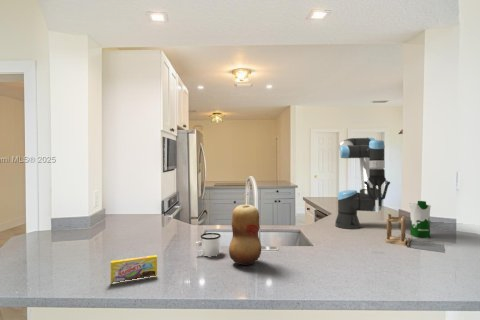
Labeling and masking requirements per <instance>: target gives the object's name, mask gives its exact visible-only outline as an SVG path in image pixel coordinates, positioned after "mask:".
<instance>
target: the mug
mask: <svg viewBox="0 0 480 320" xmlns="http://www.w3.org/2000/svg"><path fill="white" fill-rule="evenodd" d="M200 238H201V240H199V241H196V242H195V244H194V249H195V251H196V253H201V256H202V257H204V256H216V255H218V254H219V253H221V252H220V250H221V249H220V248H221V247H220V241H221V240H220V239H221V233H218V232H206V233H202V234H201V235H200ZM197 243H198V244H199V243H201V249H200V250H197ZM219 255H220V254H219ZM219 255H218V256H219ZM216 257H217V256H216Z"/></svg>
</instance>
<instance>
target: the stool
mask: <svg viewBox="0 0 480 320" xmlns="http://www.w3.org/2000/svg"><path fill="white" fill-rule="evenodd" d="M392 223H400V229H401V231H400V234H401V235H400V236H395V235H392ZM407 242H408V239H407V237H406V215H404V214H403V215H402V216H401V217H400V216H392V214H390V213H389V214H387V216H386V238H385V244H391V245H398V246H407Z"/></svg>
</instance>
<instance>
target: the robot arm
mask: <svg viewBox="0 0 480 320" xmlns="http://www.w3.org/2000/svg"><path fill="white" fill-rule="evenodd" d="M338 149H339V156H340V158H341V159H359V165H360V166H359V167H360V169H359V170H360V181H361V188H360V189H359V192H358V191H357V190H356V189H348V190H347V189H346V190H342V191H339V192H338V194H337V217H336V219H335V223H334V224H335V227H337V228H338V229H339V228H341V229H346V230H354V229H360V228H361V222H360V220H359V217H358V212H359V211H360V212H372V213H373V212H375V213H379V212H380V211H381V210H382V207H383V202H384V200H385V199H386V196H387V192H388V188H389V186H390V184H391V182H390V181H389V180H387V179H386V176H385V175H386V173H385V172H386V170H385V168H386V167H385V141H384V140H381V139H377V140H376V139H375V138H373V137H355V138H354V137H351V138H347V139H344V140H342V141H341V142H340V143H339V145H338ZM384 184H385V186H384V189H383V193H382V185H384Z"/></svg>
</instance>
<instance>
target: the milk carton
mask: <svg viewBox="0 0 480 320" xmlns="http://www.w3.org/2000/svg"><path fill="white" fill-rule="evenodd" d="M409 210H410V211H409V212H410V214H409V215H410V235H411V236H413V237H415V238H417V237H428V238H431V219H430V218H431V216H430V215H431V205H430V204H427V201H426V200H418V201H417V203H409Z"/></svg>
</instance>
